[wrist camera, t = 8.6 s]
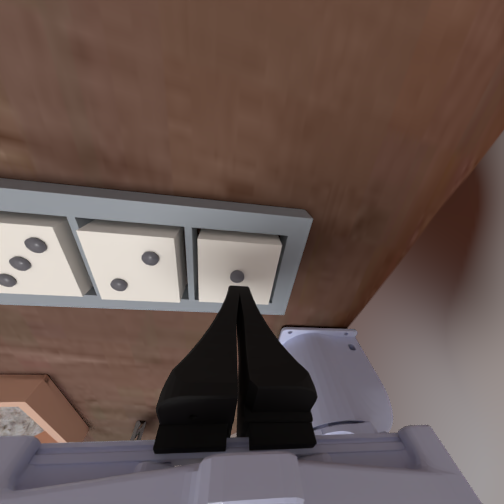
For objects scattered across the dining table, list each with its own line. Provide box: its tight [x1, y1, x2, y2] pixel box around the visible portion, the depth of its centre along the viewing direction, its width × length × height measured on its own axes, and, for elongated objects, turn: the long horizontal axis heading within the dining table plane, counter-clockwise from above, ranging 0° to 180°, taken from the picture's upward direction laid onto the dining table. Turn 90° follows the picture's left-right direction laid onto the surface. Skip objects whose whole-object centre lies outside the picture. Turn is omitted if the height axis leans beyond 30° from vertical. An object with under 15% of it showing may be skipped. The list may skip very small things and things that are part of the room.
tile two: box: [76, 219, 187, 303], centre depth 15 cm, size 6×6×3 cm
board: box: [0, 178, 313, 315], centre depth 16 cm, size 25×10×2 cm, turn 83°
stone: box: [0, 407, 44, 436], centre depth 27 cm, size 10×5×10 cm
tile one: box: [197, 228, 282, 305], centre depth 16 cm, size 6×6×3 cm
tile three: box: [0, 211, 93, 297], centre depth 14 cm, size 6×6×3 cm
